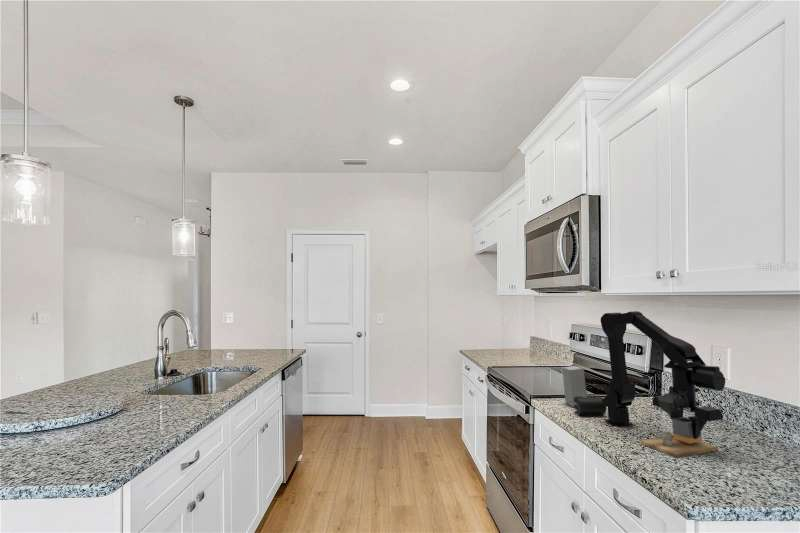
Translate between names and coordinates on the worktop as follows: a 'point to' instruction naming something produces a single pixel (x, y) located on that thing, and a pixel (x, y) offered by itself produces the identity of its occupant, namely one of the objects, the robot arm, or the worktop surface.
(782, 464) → the worktop surface
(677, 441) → the pin board
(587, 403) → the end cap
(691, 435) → the sleeve
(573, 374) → the skincare box
